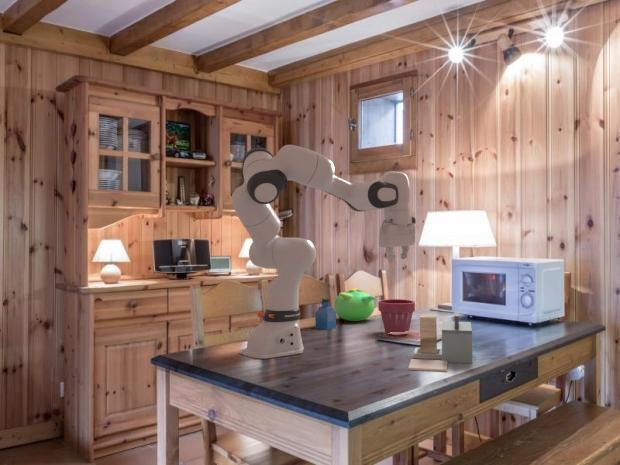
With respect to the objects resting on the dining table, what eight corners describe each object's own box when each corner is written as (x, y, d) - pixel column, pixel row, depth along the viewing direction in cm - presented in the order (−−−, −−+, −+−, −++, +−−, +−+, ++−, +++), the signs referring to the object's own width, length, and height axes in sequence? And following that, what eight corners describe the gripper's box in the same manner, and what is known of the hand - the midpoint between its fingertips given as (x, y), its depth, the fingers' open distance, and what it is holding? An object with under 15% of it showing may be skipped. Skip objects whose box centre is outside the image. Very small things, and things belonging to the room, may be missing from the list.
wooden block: (436, 357, 181) (435, 317, 180) (420, 357, 182) (419, 316, 182) (436, 354, 185) (436, 314, 185) (421, 353, 187) (420, 314, 187)
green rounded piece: (372, 317, 262) (371, 286, 261) (377, 323, 245) (377, 290, 245) (333, 318, 261) (332, 286, 261) (336, 324, 244) (335, 290, 244)
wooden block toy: (472, 363, 173) (471, 317, 172) (412, 360, 177) (412, 316, 177) (471, 351, 188) (470, 310, 188) (416, 349, 193) (415, 308, 192)
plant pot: (416, 330, 227) (416, 299, 227) (413, 337, 214) (413, 303, 214) (381, 329, 231) (381, 298, 231) (376, 336, 218) (375, 303, 218)
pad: (446, 371, 163) (446, 369, 163) (408, 369, 166) (408, 367, 166) (447, 362, 174) (447, 360, 174) (411, 361, 177) (411, 359, 177)
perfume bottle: (324, 325, 242) (324, 297, 242) (336, 327, 238) (335, 298, 238) (315, 327, 237) (315, 299, 237) (327, 329, 234) (326, 300, 233)
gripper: (391, 219, 182) (391, 261, 182) (418, 218, 199) (419, 258, 199) (373, 219, 186) (374, 261, 186) (402, 219, 202) (402, 257, 202)
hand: (397, 259), depth 192 cm, fingers open, 8 cm apart
